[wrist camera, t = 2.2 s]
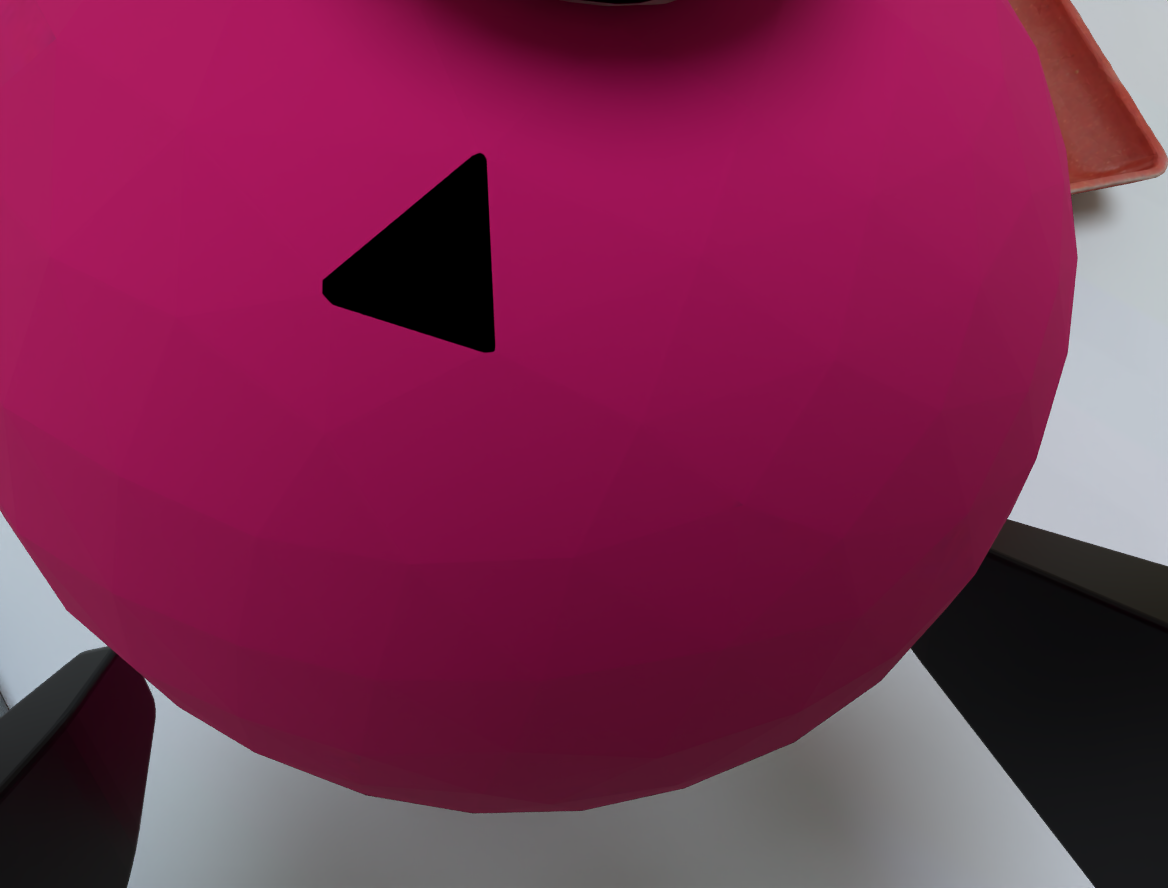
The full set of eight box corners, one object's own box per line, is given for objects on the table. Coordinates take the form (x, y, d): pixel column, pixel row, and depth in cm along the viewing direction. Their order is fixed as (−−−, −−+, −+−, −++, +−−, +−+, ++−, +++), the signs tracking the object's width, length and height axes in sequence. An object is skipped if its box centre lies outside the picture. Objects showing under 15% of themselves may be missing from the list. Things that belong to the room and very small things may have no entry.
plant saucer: (662, 319, 24) (689, 262, 20) (522, -72, 29) (526, -166, 26) (1103, 230, 27) (1182, 170, 24) (909, -102, 32) (954, -186, 29)
